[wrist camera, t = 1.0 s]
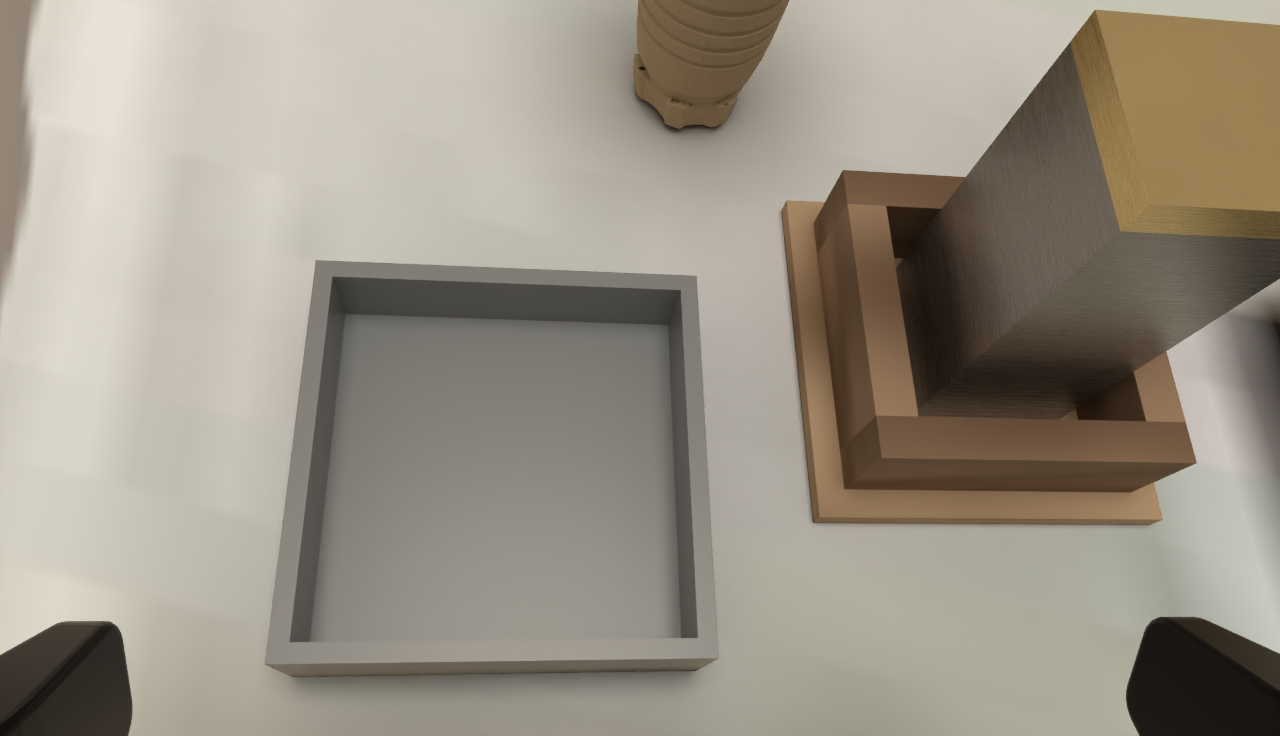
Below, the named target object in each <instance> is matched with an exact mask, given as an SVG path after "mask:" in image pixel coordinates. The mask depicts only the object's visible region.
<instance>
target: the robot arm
mask: <svg viewBox="0 0 1280 736" xmlns="http://www.w3.org/2000/svg"><path fill="white" fill-rule="evenodd" d="M1126 701H1127V708H1128V711H1129V715H1130V717H1131V720H1132V722H1133V724H1134V726H1135V728H1136V730H1137V732H1138V734H1139V736H1280V654H1279V653H1277V652H1275V651H1272V650H1270V649H1268V648H1266V647H1264V646H1262V645H1259V644H1257V643H1255V642H1253V641H1251V640H1248V639H1246V638H1244V637H1242V636H1240V635H1238V634H1235V633H1233V632H1231V631H1229V630H1227V629H1224V628H1222V627H1220V626H1218V625H1216V624H1213V623H1211V622H1209V621H1207V620H1204V619H1202V618H1197V617H1159V618H1157V619H1154V620H1152V621H1151V622H1150V623H1149V625H1148V626H1147V627H1146V629H1145V631H1144V634H1143V637H1142V640H1141V644H1140V647H1139V650H1138V653H1137V656H1136V660H1135V663H1134V666H1133V669H1132V672H1131V676H1130V679H1129V682H1128V685H1127V690H1126ZM131 720H132V698H131V691H130V684H129V678H128V671H127V664H126V658H125V651H124V645H123V639H122V635H121V632H120V630H119V628H118V627H117V626H116V625H114V624H113V623H112V622H109V621H66V622H61V623H57V624H55V625H53V626H51V627H50V628H48V629H46V630H44V631H42V632H41V633H39V634H37V635H35V636H33V637H32V638H30V639H28V640H26V641H25V642H23V643H21V644H19V645H17V646H16V647H14V648H12V649H10V650H9V651H7V652H5V653H3V654H1V655H0V736H128V734H129V730H130V726H131Z"/></svg>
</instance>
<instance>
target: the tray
mask: <svg viewBox="0 0 1280 736" xmlns="http://www.w3.org/2000/svg"><path fill="white" fill-rule="evenodd" d="M716 659H718V641H717V624H716V606H715V589H714V572H713V554H712V537H711V519H710V502H709V484H708V467H707V450H706V432H705V415H704V397H703V380H702V363H701V345H700V328H699V310H698V293H697V276H686V275H662V274H637V273H613V272H589V271H564V270H540V269H516V268H491V267H467V266H442V265H418V264H394V263H369V262H345V261H321V260H316V264H315V272H314V279H313V287H312V295H311V303H310V311H309V319H308V327H307V335H306V343H305V351H304V359H303V367H302V375H301V383H300V390H299V398H298V406H297V414H296V422H295V430H294V438H293V446H292V454H291V462H290V470H289V478H288V486H287V494H286V502H285V509H284V517H283V525H282V533H281V541H280V549H279V557H278V565H277V573H276V581H275V589H274V597H273V605H272V613H271V621H270V628H269V636H268V644H267V652H266V660H265V665H268V666H270V667H272V668H274V669H276V670H279V671H281V672H283V673H285V674H287V675H290V676H292V677H305V676H371V675H437V674H503V673H569V672H635V671H696V670H698V669H699V668H701V667H703V666H705V665H707V664H709V663H711V662H712V661H714V660H716Z"/></svg>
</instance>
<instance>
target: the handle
mask: <svg viewBox="0 0 1280 736" xmlns="http://www.w3.org/2000/svg"><path fill="white" fill-rule="evenodd" d="M788 2H789V0H638V17H637V43H638V50H639V54H635V58H634V84H635V90H636V93H637V95H638V96H639V97H640V98H641V99H642V100H644V101H647V102H648V103H650V104H651V105H652V106H653V107H655V108H656V109H657V110H658V112H659V113H660V114H661V115H662V117H663V119H664V122H665V124H666V125H669V126H671V127H674V128H677V129H681V128H682V127H684V126H687V125H705V126H708V127H715V126H718V125H720V124H722V123H723V122H725V121H726V119H727V118H728V116H729V114H730V113H731V111H732V109H733V107H734V105H735V102H736V95H737V94H738V93H739V92H740V90H741V89H742V87H743V86H744V84H745V83H746V82H747V81H748V79H749V78H750V76H751V75H752V73H753V72H754V70H755V69H756V67H757V66H758V64H759V63H760V61H761V59H762V57H763V56H764V54H765V52H766V50H767V48H768V46H769V44H770V42H771V40H772V38H773V36H774V33H775V31H776V29H777V27H778V24H779V22H780V20H781V18H782V16H783V14H784V11H785V9H786V7H787V5H788Z"/></svg>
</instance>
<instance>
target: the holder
mask: <svg viewBox="0 0 1280 736" xmlns="http://www.w3.org/2000/svg"><path fill="white" fill-rule="evenodd" d="M965 178H966V177H953V176H936V175H918V174H901V173H883V172H866V171H848V170H843V171H842V173H841V175H840V177H839V178H838V180H837V182H836V184H835V186H834V187H833V189H832V191H831V193H830V194H829V196H828V198H827V200H826V202H806V201H786V203H785V205H784V207H783V209H782V217H783V227H784V237H785V247H786V257H787V267H788V276H789V286H790V296H791V306H792V316H793V326H794V335H795V345H796V355H797V365H798V375H799V385H800V395H801V404H802V414H803V424H804V434H805V444H806V454H807V463H808V473H809V483H810V493H811V503H812V513H813V522H832V523H997V524H1153V523H1155V522H1158V521H1160V520H1163V519H1162V515H1161V511H1160V507H1159V503H1158V499H1157V495H1156V491H1155V487H1154V483H1153V482H1155V481H1158V480H1160V479H1162V478H1164V477H1166V476H1169V475H1171V474H1173V473H1175V472H1178V471H1180V470H1182V469H1184V468H1187V467H1189V466H1191V465H1193V464H1195V463H1196V459H1195V455H1194V452H1193V448H1192V444H1191V441H1190V437H1189V433H1188V430H1187V426H1186V422H1185V419H1184V415H1183V411H1182V408H1181V404H1180V400H1179V397H1178V393H1177V389H1176V386H1175V382H1174V378H1173V375H1172V371H1171V367H1170V364H1169V360H1168V356H1167V353H1166V351H1165V352H1164V353H1162V354H1161V355H1159V356H1158V357H1156V358H1155V359H1153V360H1151V361H1150V362H1148V363H1147V364H1145V365H1144V366H1142V367H1140V368H1139V369H1137V370H1136V371H1134V372H1133V373H1131V374H1130V375H1128V376H1126V377H1125V378H1123V379H1122V380H1120V381H1119V382H1117V383H1115V384H1114V385H1112V386H1111V387H1109V388H1108V389H1106V390H1104V391H1103V392H1101V393H1100V394H1098V395H1097V396H1095V397H1094V398H1092V399H1090V400H1089V401H1087V402H1086V403H1084V404H1083V405H1081V406H1079V407H1078V408H1076V409H1075V410H1073V411H1072V412H1070V413H1068V414H1067V415H1065V416H1064V417H1062V418H1061V419H1014V418H968V417H922V416H918V410H917V404H916V397H915V391H914V384H913V378H912V371H911V365H910V358H909V351H908V345H907V338H906V332H905V325H904V319H903V312H902V306H901V299H900V293H899V286H898V280H897V273H896V267H897V266H898V264H899V263H900V262H901V261H902V259H903V258H904V257H905V255H906V254H907V253H908V251H909V250H910V249H911V248H912V246H913V245H914V244H915V242H916V241H917V240H918V239H919V237H920V236H921V235H922V233H923V232H924V231H925V229H926V228H927V227H928V226H929V224H930V223H931V222H932V220H933V219H934V218H935V217H936V215H937V214H938V213H939V211H940V210H941V209H942V207H943V206H944V205H945V204H946V202H947V201H948V200H949V198H950V197H951V196H952V195H953V193H954V192H955V191H956V189H957V188H958V187H959V185H960V184H961V183H962V182H963V180H964V179H965Z"/></svg>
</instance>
